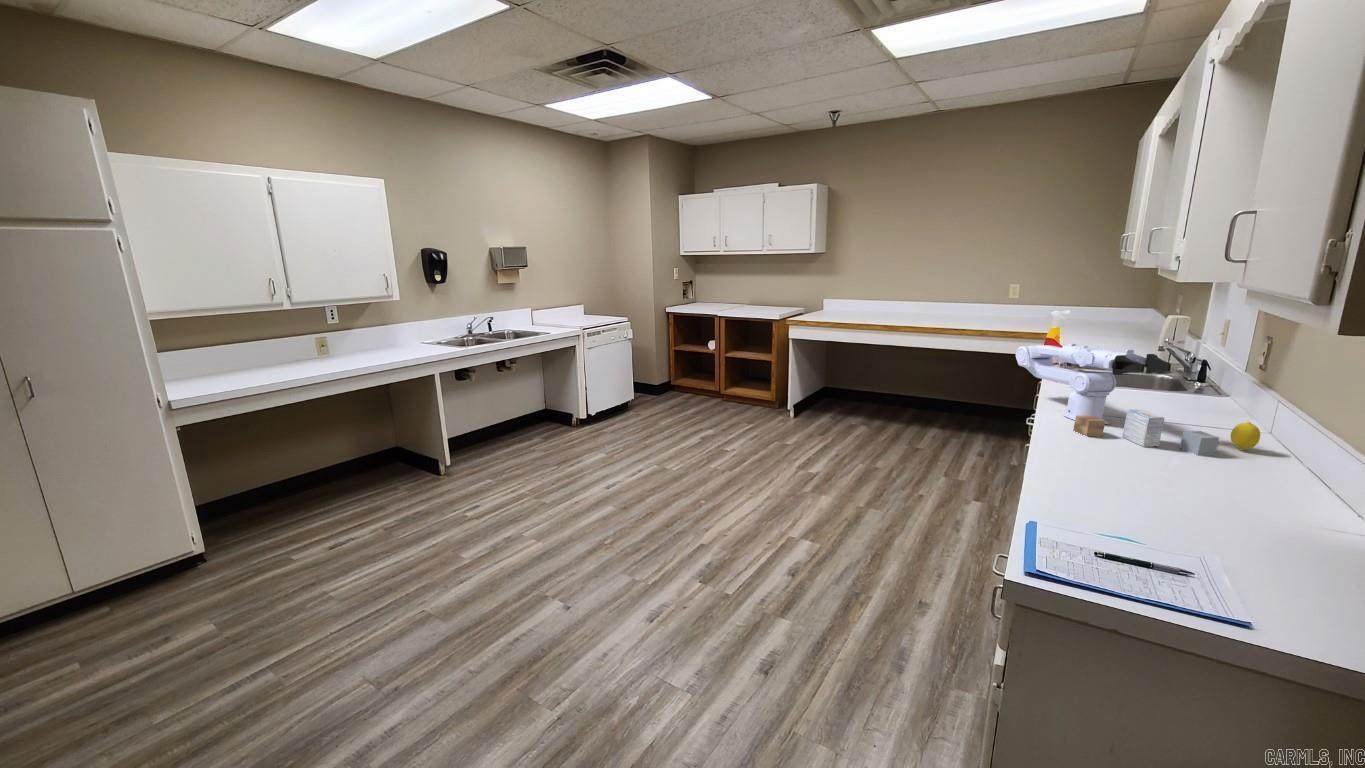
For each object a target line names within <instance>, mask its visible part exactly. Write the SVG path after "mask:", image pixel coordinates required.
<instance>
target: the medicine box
mask: <svg viewBox="0 0 1365 768" xmlns="http://www.w3.org/2000/svg"><path fill="white" fill-rule="evenodd" d="M1164 422H1165V417H1164V416H1161V415H1159V414H1156V413H1153V412H1150V411H1148V410H1145V409H1139V408H1138V409H1137V408H1136V409H1127V411H1126V416H1125V421H1124V424H1123V425H1124V427H1123V430H1122V437H1121V438H1122V439H1126V440H1127V441H1130V442H1132V443H1135V444H1137V445H1139V446H1141V447H1144V448H1155V447H1154V446H1157V447H1160V442H1161V439H1162V438H1161V437H1162V432H1163V427H1164Z"/></svg>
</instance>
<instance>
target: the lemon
mask: <svg viewBox="0 0 1365 768" xmlns="http://www.w3.org/2000/svg"><path fill="white" fill-rule="evenodd" d="M1260 440H1261V431H1260V429H1259V428H1258V427H1257V426H1256V425H1254V424H1253V423H1251V422H1250V421H1247V422H1243V423H1239V424H1237V425H1235V426H1234V427H1233V429H1232V430H1231V432H1230V441H1231V443H1232V444H1233V445H1234V446H1235V447H1237V448H1238V449H1239V450H1240V451H1244V450H1247V449H1252V448H1254V447H1255V446H1257V445H1258V444H1259V442H1260Z"/></svg>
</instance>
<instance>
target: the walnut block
mask: <svg viewBox="0 0 1365 768" xmlns="http://www.w3.org/2000/svg"><path fill="white" fill-rule="evenodd" d="M1105 421H1106V420H1105V419H1103V418H1102V419H1101V418H1098V417H1096V416H1093V415H1077V416H1076V418H1075V420H1074V424H1073V430H1072V431H1073V432H1074V431H1075V432H1074V433H1076V432H1078V433H1077V434H1079V433H1080V434H1079V435H1081V434H1082V435H1081V436H1083V435H1085V436H1097V437H1103V436H1104V435H1103V434H1104V431H1105V429H1104V428H1105V425H1106V424H1105ZM1085 436H1084V437H1085Z"/></svg>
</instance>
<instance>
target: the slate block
mask: <svg viewBox="0 0 1365 768" xmlns="http://www.w3.org/2000/svg"><path fill="white" fill-rule="evenodd" d="M1219 440H1220V437H1219V436H1216V435H1213V434H1210V433H1207V432H1204V431H1202V430H1200V431H1199V430H1198V431H1197V430H1195V431H1193V430H1192V431H1183V433H1182V436H1181V441H1180V443H1179V444H1180V445H1179V449H1180V448H1181V449H1180V450H1182V449H1184V450H1186V451H1185V452H1187V451H1189V452H1188V453H1190V452H1191V453H1190V454H1192V453H1194V454H1193V455H1195V454H1196V455H1195V456H1215V455H1216V451H1217V448H1218V444H1219ZM1184 450H1183V451H1184Z"/></svg>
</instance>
